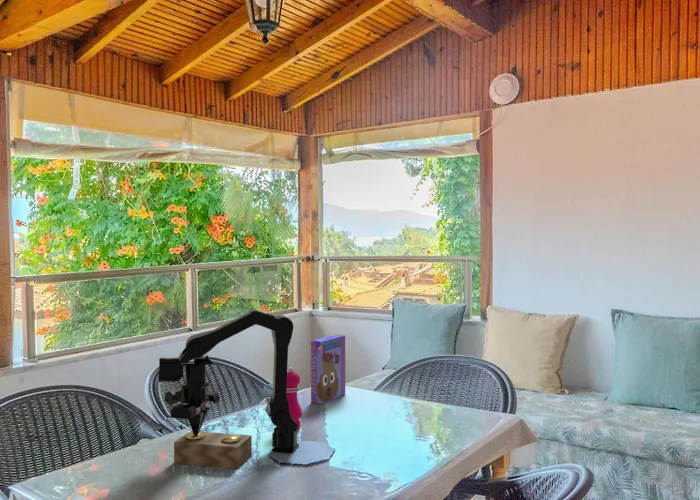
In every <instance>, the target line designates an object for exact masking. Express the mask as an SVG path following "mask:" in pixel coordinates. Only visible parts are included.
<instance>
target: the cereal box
mask: <svg viewBox="0 0 700 500" xmlns="http://www.w3.org/2000/svg"><path fill="white" fill-rule="evenodd" d="M310 392H311V393H310V395H311V396H310V403H311V404H314V405H320V406H323V405H325V404H327V403H329V402H331V401H333V400H336V399H338V398H340V396H341V397H343V396H345V395H346V335H344V334H333V335H328V336H326V337H325V336H324V337H321V338H318V339H314V340H311V341H310ZM344 394H345V395H344ZM342 395H343V396H342Z"/></svg>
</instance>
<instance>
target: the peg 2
mask: <svg viewBox="0 0 700 500" xmlns="http://www.w3.org/2000/svg"><path fill="white" fill-rule="evenodd" d="M229 434H230V435H225V436H223V437H222V442H224V443H237V442H239V441H240V440H241V436H240V435H241V434H239V435H236V434H237V433H235V434H234V433H229Z"/></svg>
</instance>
